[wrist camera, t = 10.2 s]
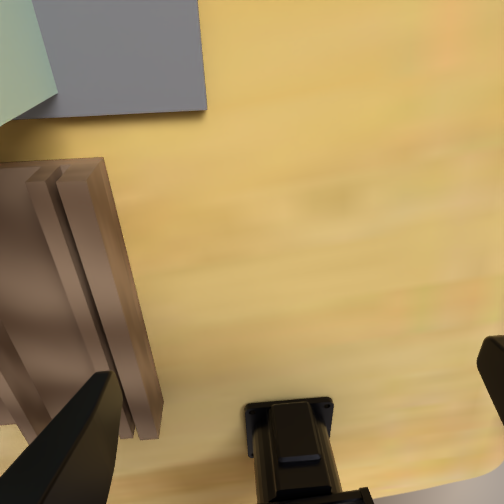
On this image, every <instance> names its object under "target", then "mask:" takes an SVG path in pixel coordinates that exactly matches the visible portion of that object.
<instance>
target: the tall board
mask: <svg viewBox="0 0 504 504" xmlns="http://www.w3.org/2000/svg"><path fill="white" fill-rule="evenodd" d="M57 93H58V91H57V87H56V84H55V80H54V77H53V73H52V70H51V66H50V63H49V59H48V56H47V53H46V49H45V46H44V42H43V39H42V35H41V32H40V28H39V25H38V21H37V18H36V14H35V11H34V7H33V4H32V0H0V126H1V125H3V124H5V123H7V122H8V121H10V120H12V119H14V118H15V117H17V116H19V115H20V114H22V113H24V112H26V111H27V110H29V109H31V108H33V107H34V106H36V105H38V104H39V103H41V102H43V101H45V100H46V99H48V98H50V97H52V96H53V95H55V94H57Z"/></svg>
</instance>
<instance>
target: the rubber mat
mask: <svg viewBox="0 0 504 504" xmlns="http://www.w3.org/2000/svg"><path fill="white" fill-rule="evenodd" d="M32 4H33V7H34V11H35V14H36V18H37V21H38V25H39V28H40V32H41V35H42V39H43V42H44V46H45V49H46V53H47V56H48V59H49V63H50V66H51V70H52V73H53V77H54V80H55V84H56V87H57V91H58V93H57V94H55V95H53V96H52V97H50V98H48V99H46V100H45V101H43V102H41V103H39V104H38V105H36V106H34V107H33V108H31V109H29V110H27V111H26V112H24V113H22V114H20V115H19V116H17V117H15V118H14V119H12V120H19V119H38V118H58V117H78V116H97V115H117V114H137V113H156V112H176V111H196V110H207V98H206V87H205V76H204V66H203V55H202V44H201V33H200V22H199V11H198V0H32Z"/></svg>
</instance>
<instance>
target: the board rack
mask: <svg viewBox="0 0 504 504" xmlns="http://www.w3.org/2000/svg"><path fill="white" fill-rule="evenodd" d="M108 370H112V371H114V372H115V374H116V377H117V380H118V383H119V386H120V388H121V391H122V397H123V402H122V410H121V419H120V427H119V436H120V439H128V438H133V435H134V430H135V426H136V429H137V432H138V435H139V438H140V440H149V439H159V433H160V425H161V418H162V411H163V403H164V401H163V397H162V393H161V389H160V385H159V381H158V377H157V373H156V369H155V365H154V361H153V356H152V352H151V348H150V344H149V340H148V336H147V332H146V328H145V324H144V320H143V316H142V312H141V308H140V304H139V300H138V296H137V292H136V288H135V284H134V280H133V276H132V272H131V267H130V263H129V259H128V255H127V251H126V247H125V243H124V239H123V235H122V231H121V227H120V223H119V219H118V215H117V211H116V207H115V203H114V199H113V195H112V191H111V187H110V183H109V178H108V174H107V170H106V166H105V162H104V158H103V157H96V158H78V159H60V160H42V161H24V162H6V163H0V425H9V424H17V426H18V427H19V429H20V431H21V432H22V434H23V436H24V437H25V439H26V441H27V442H28V444H29V445H30V444H31V443H32V441H33V440H34V439H35V438H36V437H37V436H38V435H39V434H40V433H41V431H42V430H43V429H44V428H45V427H46V426H47V425H48V424H49V423H50V421H51V420H52V419H53V418H54V417H55V416H56V415H57V414H58V413H59V411H60V410H61V409H62V408H63V407H64V406H65V405H66V404H67V403H68V401H69V400H70V399H71V398H72V397H73V396H74V395H75V394H76V393H77V392H78V390H79V389H80V388H81V387H82V386H83V385H84V384H85V383H86V382H87V380H88V379H89V378H90V377H91V376H92V375H93V374H94V373H95V372H98V371H108Z"/></svg>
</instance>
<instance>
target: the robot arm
mask: <svg viewBox="0 0 504 504" xmlns="http://www.w3.org/2000/svg"><path fill="white" fill-rule="evenodd" d="M477 368H478V371H479V373H480V375H481V377H482V379H483V382H484V384H485V386H486V388H487V390H488V393H489V395H490V397H491V399H492V401H493V404H494V406H495V408H496V410H497V412H498V415H499V417H500V419H501V421H502V423H503V425H504V335H497V336H488V337H486V338H485V339H484V341H483V344H482V346H481V349H480V352H479V355H478V357H477ZM122 402H123V397H122V391H121V388H120V386H119V383H118V380H117V377H116V374H115V372H114V371H112V370H108V371H98V372H95V373H94V374H93V375H92V376H91V377H90V378H89V379H88V380H87V382H86V383H85V384H84V385H83V386H82V387H81V388H80V389H79V390H78V392H77V393H76V394H75V395H74V396H73V397H72V398H71V399H70V400H69V401H68V403H67V404H66V405H65V406H64V407H63V408H62V409H61V410H60V411H59V413H58V414H57V415H56V416H55V417H54V418H53V419H52V420H51V421H50V423H49V424H48V425H47V426H46V427H45V428H44V429H43V430H42V431H41V433H40V434H39V435H38V436H37V437H36V438H35V439H34V440H33V441H32V443H31V444H30V445H29V446H28V447H27V448H26V449H25V450H24V451H23V452H22V454H21V455H20V456H19V457H18V458H17V459H16V460H15V461H14V462H13V464H12V465H11V466H10V467H9V468H8V469H7V470H6V471H5V472H4V474H3V475H2V476H1V477H0V504H106V502H107V498H108V494H109V490H110V485H111V481H112V476H113V472H114V467H115V460H116V452H117V444H118V435H119V427H120V419H121V410H122ZM333 408H334V404H333V401H332V399H331V398H329V397H323V398H311V399H299V400H287V401H275V402H263V403H251V404H248V405H246V406H245V417H246V432H247V446H248V456H249V457H250V458H254V467H255V480H256V493H257V504H374V502H373V500H372V497H371V495H370V492H369V489H368V487H363V488H359V490H354V491H346V492H343V491H342V487H341V483H340V479H339V475H338V471H337V467H336V464H335V460H334V456H333V452H332V448H331V444H330V440H329V439H330V431H331V423H332V416H333Z"/></svg>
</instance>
